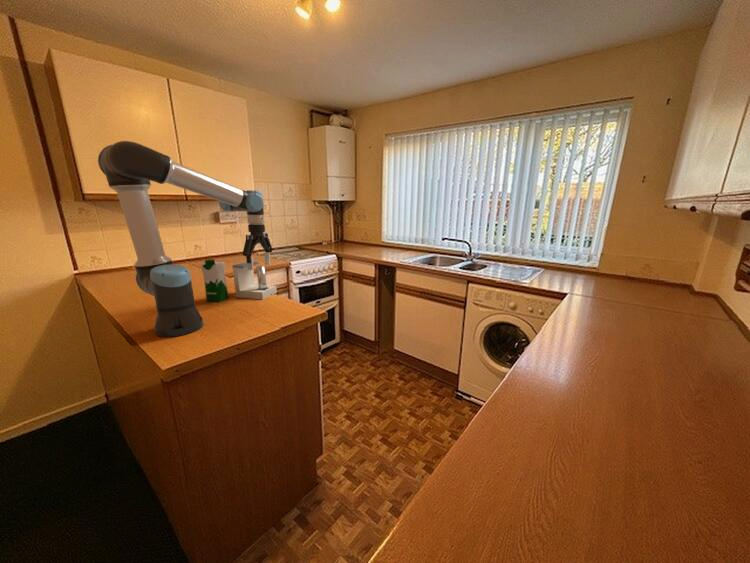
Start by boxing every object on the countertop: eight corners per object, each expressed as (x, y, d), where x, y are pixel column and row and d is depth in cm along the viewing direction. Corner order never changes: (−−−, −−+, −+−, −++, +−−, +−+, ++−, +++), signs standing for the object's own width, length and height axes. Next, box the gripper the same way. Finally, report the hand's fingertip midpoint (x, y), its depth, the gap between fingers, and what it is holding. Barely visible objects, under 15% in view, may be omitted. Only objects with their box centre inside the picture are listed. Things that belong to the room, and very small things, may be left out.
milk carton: (203, 302, 141) (197, 260, 136) (215, 296, 150) (209, 257, 145) (221, 302, 140) (215, 261, 135) (231, 297, 149) (226, 257, 144)
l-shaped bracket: (262, 299, 145) (259, 266, 141) (236, 296, 149) (232, 265, 145) (276, 292, 156) (274, 262, 152) (251, 290, 160) (248, 261, 156)
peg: (257, 296, 150) (254, 267, 147) (262, 293, 154) (259, 265, 150) (264, 296, 149) (261, 267, 146) (269, 294, 153) (266, 266, 149)
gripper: (245, 225, 130) (249, 272, 135) (277, 223, 154) (280, 263, 158) (231, 224, 132) (235, 271, 137) (265, 222, 155) (268, 262, 160)
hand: (259, 267), depth 148 cm, fingers open, 13 cm apart
